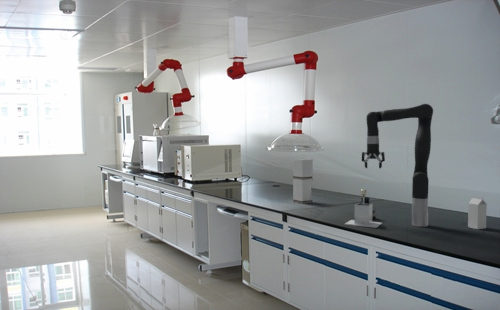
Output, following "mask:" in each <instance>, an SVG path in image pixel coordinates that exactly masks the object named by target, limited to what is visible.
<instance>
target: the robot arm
mask: <svg viewBox="0 0 500 310" xmlns="http://www.w3.org/2000/svg"><path fill="white" fill-rule="evenodd" d="M433 114H434V108H433V106H431V105H430V104H428V103H421V104H420V105H417V106H413V107H407V108H392V109H387V110H385V109H384V110H382V111H381V110H379V111H369V112H368V113H367V114H366V127H367V137H366V152H365V151H362V152H361V162H364V168H365V169H368V162H369V160H377V161H378V169H382V167H383V165H382V164H383V162H385V161H386V160H385V158H386V157H385V152H384V151H382V152H381V151H380V137H379V136H380V135H379V134H380V133H379V132H380V131H379V127H378V123H381V122H392V121H399V120H405V119H414V118H415V119H418V120H417V121H418V122H417V123H418V124H417V131H416V135H415V139H414V140H415V141H414V170H413V175H412V185H411V186H412V191H411V192H412V194H411V196H412V197H411V226H414V227H421V228H424V227H426V228H427V227H428V226H429V210H428V209H429V207H428V205H429V177H428V163H429V159H430V154H431V148H432V145H431V144H432V131H431V129H432V127H431V126H432V121H433V120H432V119H433ZM365 156H366V158H365ZM379 156H381V158H380V157H379Z"/></svg>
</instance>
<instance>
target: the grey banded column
mask: <svg viewBox="0 0 500 310" xmlns="http://www.w3.org/2000/svg"><path fill="white" fill-rule="evenodd" d="M292 161H293V162H292V163H293V164H292V168H293V169H292V172H293V173H292V176H293V177H292V189H293V190H292V202H293V203H297V204H301V205H303V204H311V203H313V199H312V181H313V171H314V169H313V165H314V164H313V159H312V158H302V159H298V158H297V159H296V158H293V159H292Z"/></svg>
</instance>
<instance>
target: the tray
mask: <svg viewBox="0 0 500 310" xmlns="http://www.w3.org/2000/svg"><path fill="white" fill-rule="evenodd" d="M382 224H383V222H378V221H372V223H371V224H370V225H361V224H354V219H350V220H348V221H347V222H345V223H344V225H345V226H355V227H366V228H375V229H377V228H378V227H379V226H381V225H382Z"/></svg>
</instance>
